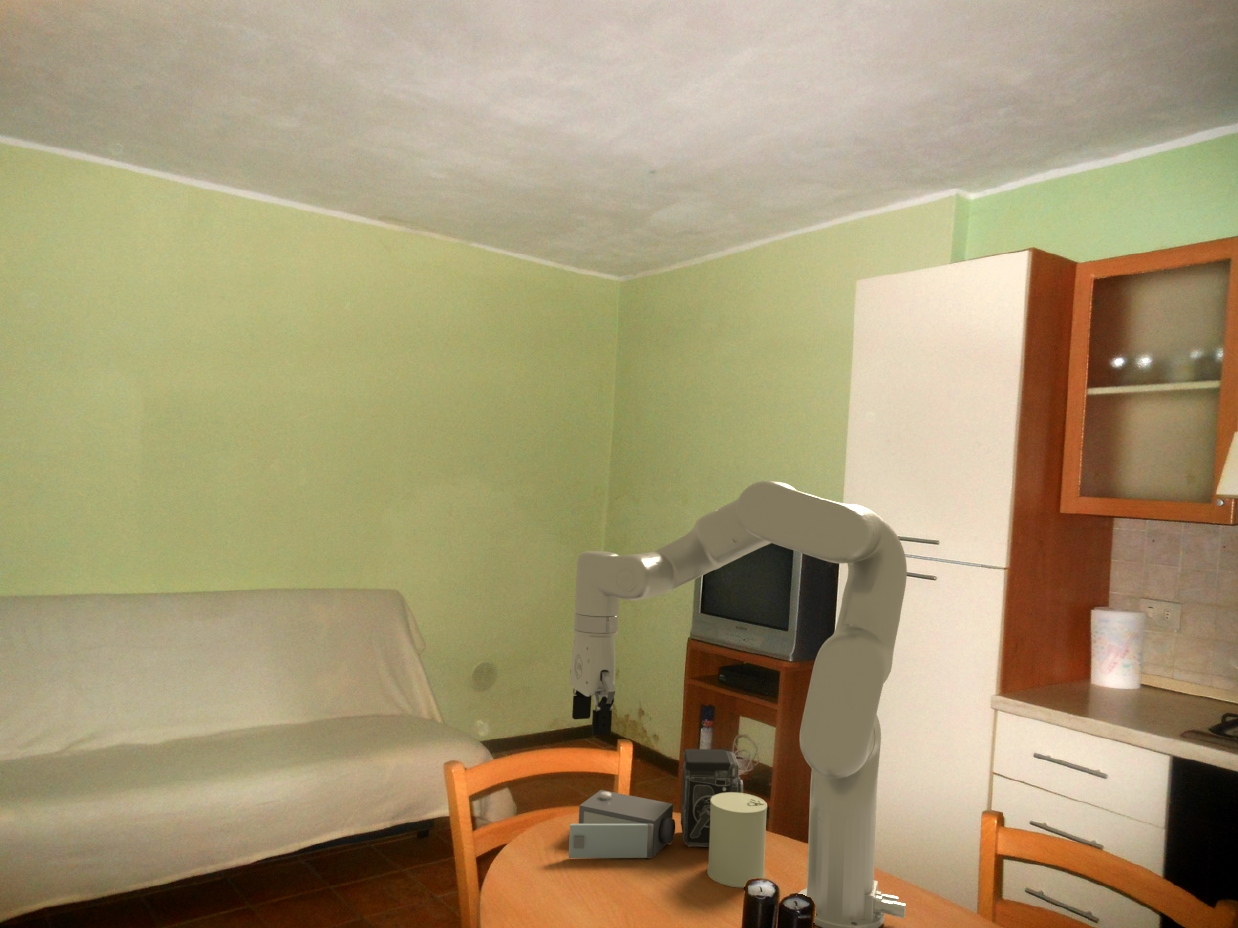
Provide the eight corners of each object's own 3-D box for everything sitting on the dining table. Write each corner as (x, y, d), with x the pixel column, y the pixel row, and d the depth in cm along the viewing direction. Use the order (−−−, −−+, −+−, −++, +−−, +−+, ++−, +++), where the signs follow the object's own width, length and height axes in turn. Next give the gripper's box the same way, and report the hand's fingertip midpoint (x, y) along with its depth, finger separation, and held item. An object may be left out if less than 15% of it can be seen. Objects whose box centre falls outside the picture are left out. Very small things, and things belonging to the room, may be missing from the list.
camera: (745, 854, 144) (748, 765, 144) (683, 851, 144) (686, 762, 144) (737, 830, 154) (740, 747, 155) (679, 827, 154) (683, 744, 155)
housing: (680, 840, 149) (681, 800, 149) (662, 859, 140) (663, 817, 141) (599, 822, 155) (601, 785, 155) (577, 840, 146) (579, 800, 147)
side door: (651, 855, 141) (653, 822, 141) (653, 859, 140) (654, 826, 140) (568, 855, 140) (570, 823, 140) (569, 859, 138) (570, 826, 138)
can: (769, 889, 131) (772, 810, 132) (710, 886, 131) (713, 808, 132) (759, 863, 141) (762, 790, 141) (704, 861, 141) (706, 787, 141)
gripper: (559, 616, 150) (554, 714, 150) (593, 633, 134) (587, 742, 134) (598, 616, 153) (593, 711, 153) (636, 632, 137) (631, 739, 137)
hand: (590, 726), depth 143 cm, fingers open, 9 cm apart
